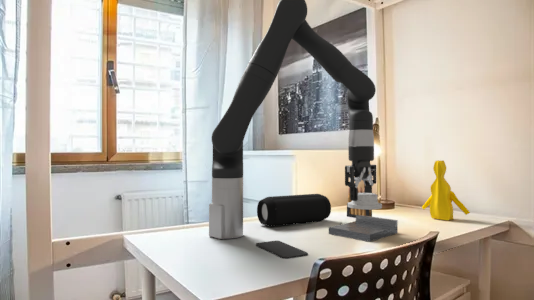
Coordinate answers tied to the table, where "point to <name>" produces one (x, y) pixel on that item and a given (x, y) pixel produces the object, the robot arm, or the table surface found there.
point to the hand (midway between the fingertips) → (361, 199)
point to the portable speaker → (293, 209)
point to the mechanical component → (366, 202)
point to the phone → (281, 249)
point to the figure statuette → (442, 196)
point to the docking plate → (366, 228)
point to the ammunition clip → (353, 212)
